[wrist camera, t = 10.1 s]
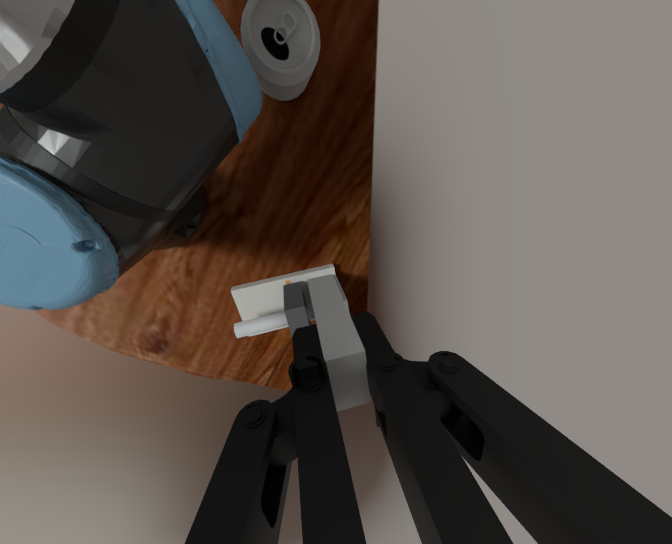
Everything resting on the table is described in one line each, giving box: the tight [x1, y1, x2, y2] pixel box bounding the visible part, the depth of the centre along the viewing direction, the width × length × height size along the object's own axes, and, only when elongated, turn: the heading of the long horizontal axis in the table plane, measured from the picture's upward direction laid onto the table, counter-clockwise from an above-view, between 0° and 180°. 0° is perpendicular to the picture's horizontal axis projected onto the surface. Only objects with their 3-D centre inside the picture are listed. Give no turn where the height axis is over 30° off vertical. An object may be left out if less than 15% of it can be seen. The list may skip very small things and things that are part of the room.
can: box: [241, 0, 321, 101], centre depth 29 cm, size 8×8×12 cm
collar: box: [283, 282, 311, 336], centre depth 43 cm, size 3×8×8 cm, turn 9°
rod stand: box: [231, 264, 350, 338], centre depth 44 cm, size 18×10×10 cm, turn 99°
